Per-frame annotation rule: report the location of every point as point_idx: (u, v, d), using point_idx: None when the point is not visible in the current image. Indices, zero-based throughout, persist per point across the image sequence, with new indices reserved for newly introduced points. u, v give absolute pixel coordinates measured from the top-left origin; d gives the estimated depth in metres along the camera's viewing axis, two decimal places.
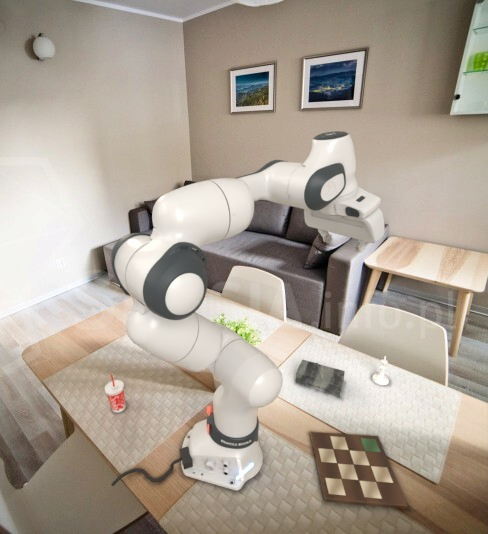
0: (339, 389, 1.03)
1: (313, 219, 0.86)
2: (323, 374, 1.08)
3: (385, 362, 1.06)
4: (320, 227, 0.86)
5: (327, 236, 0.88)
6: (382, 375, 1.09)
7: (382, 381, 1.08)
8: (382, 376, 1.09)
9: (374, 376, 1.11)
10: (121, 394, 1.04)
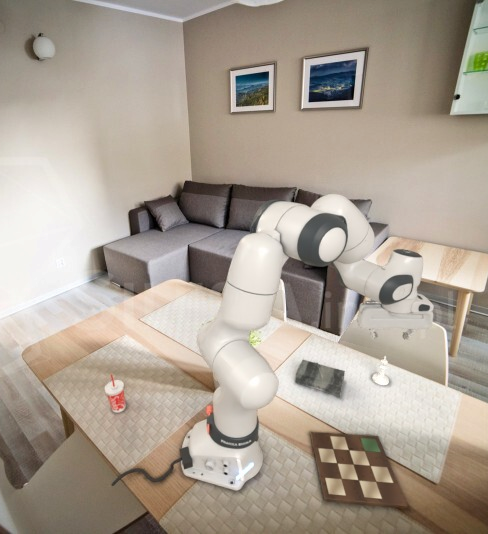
0: (339, 389, 1.03)
1: (372, 321, 0.99)
2: (323, 374, 1.08)
3: (385, 362, 1.06)
4: (378, 326, 1.00)
5: (375, 333, 1.03)
6: (382, 375, 1.09)
7: (382, 381, 1.08)
8: (382, 376, 1.09)
9: (374, 376, 1.11)
10: (121, 394, 1.04)
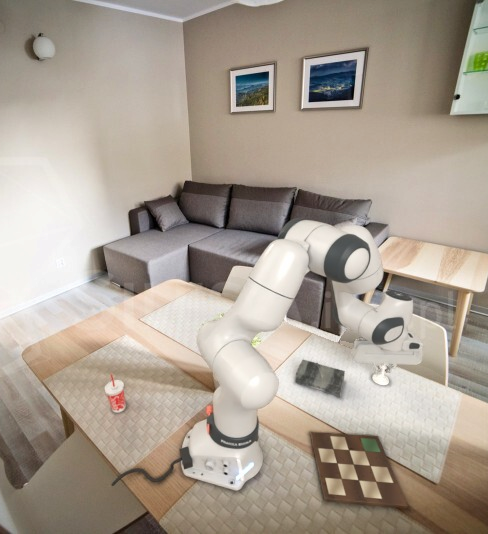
0: (339, 389, 1.03)
1: (366, 356, 1.05)
2: (323, 374, 1.08)
3: None
4: (371, 361, 1.06)
5: (378, 367, 1.08)
6: (382, 375, 1.09)
7: (382, 381, 1.08)
8: (382, 376, 1.09)
9: (374, 376, 1.11)
10: (121, 394, 1.04)
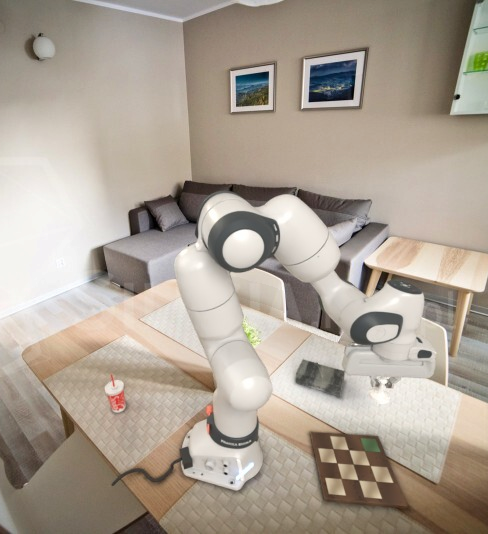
0: (339, 389, 1.03)
1: (360, 367, 0.80)
2: (323, 374, 1.08)
3: None
4: (367, 373, 0.81)
5: (376, 381, 0.84)
6: (381, 391, 0.84)
7: (381, 399, 0.84)
8: (381, 392, 0.84)
9: (371, 392, 0.86)
10: (121, 394, 1.04)
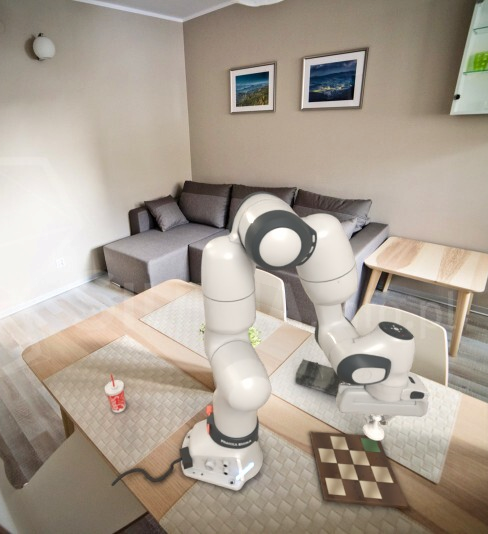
0: None
1: (354, 405, 0.81)
2: (323, 374, 1.08)
3: None
4: (361, 412, 0.82)
5: (370, 418, 0.84)
6: (376, 427, 0.85)
7: (375, 435, 0.84)
8: (376, 428, 0.85)
9: (365, 427, 0.87)
10: (121, 394, 1.04)
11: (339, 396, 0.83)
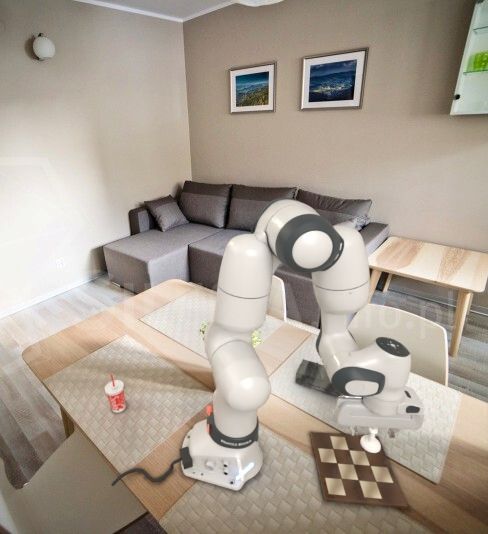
0: None
1: (351, 418, 0.83)
2: (323, 374, 1.08)
3: None
4: (358, 424, 0.83)
5: (355, 429, 0.86)
6: (372, 440, 0.87)
7: (372, 448, 0.86)
8: (372, 441, 0.87)
9: (362, 440, 0.89)
10: (121, 394, 1.04)
11: (337, 409, 0.84)
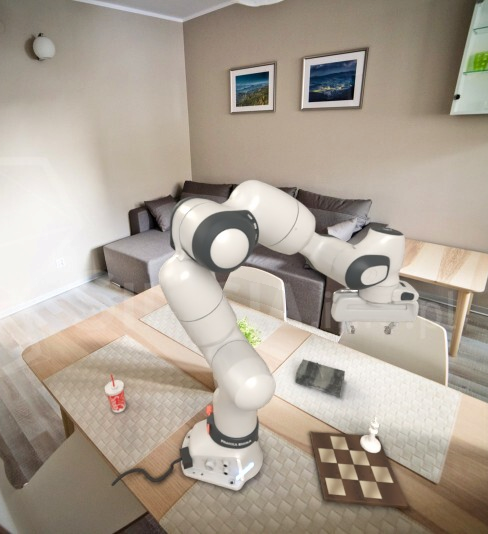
0: (339, 389, 1.03)
1: (348, 312, 0.85)
2: (323, 374, 1.08)
3: (376, 425, 0.84)
4: (354, 319, 0.86)
5: (352, 327, 0.89)
6: (372, 440, 0.87)
7: (372, 448, 0.86)
8: (372, 441, 0.87)
9: (362, 440, 0.89)
10: (121, 394, 1.04)
11: (334, 305, 0.87)
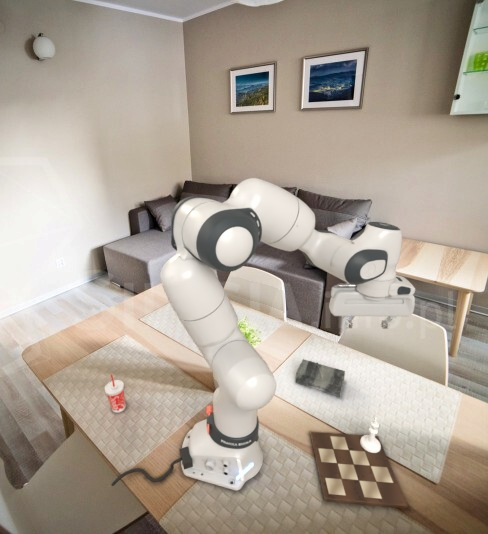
0: (339, 389, 1.03)
1: (345, 307, 0.86)
2: (323, 374, 1.08)
3: (376, 425, 0.84)
4: (352, 313, 0.87)
5: (350, 322, 0.90)
6: (372, 440, 0.87)
7: (372, 448, 0.86)
8: (372, 441, 0.87)
9: (362, 440, 0.89)
10: (121, 394, 1.04)
11: (332, 300, 0.88)
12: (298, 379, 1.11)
